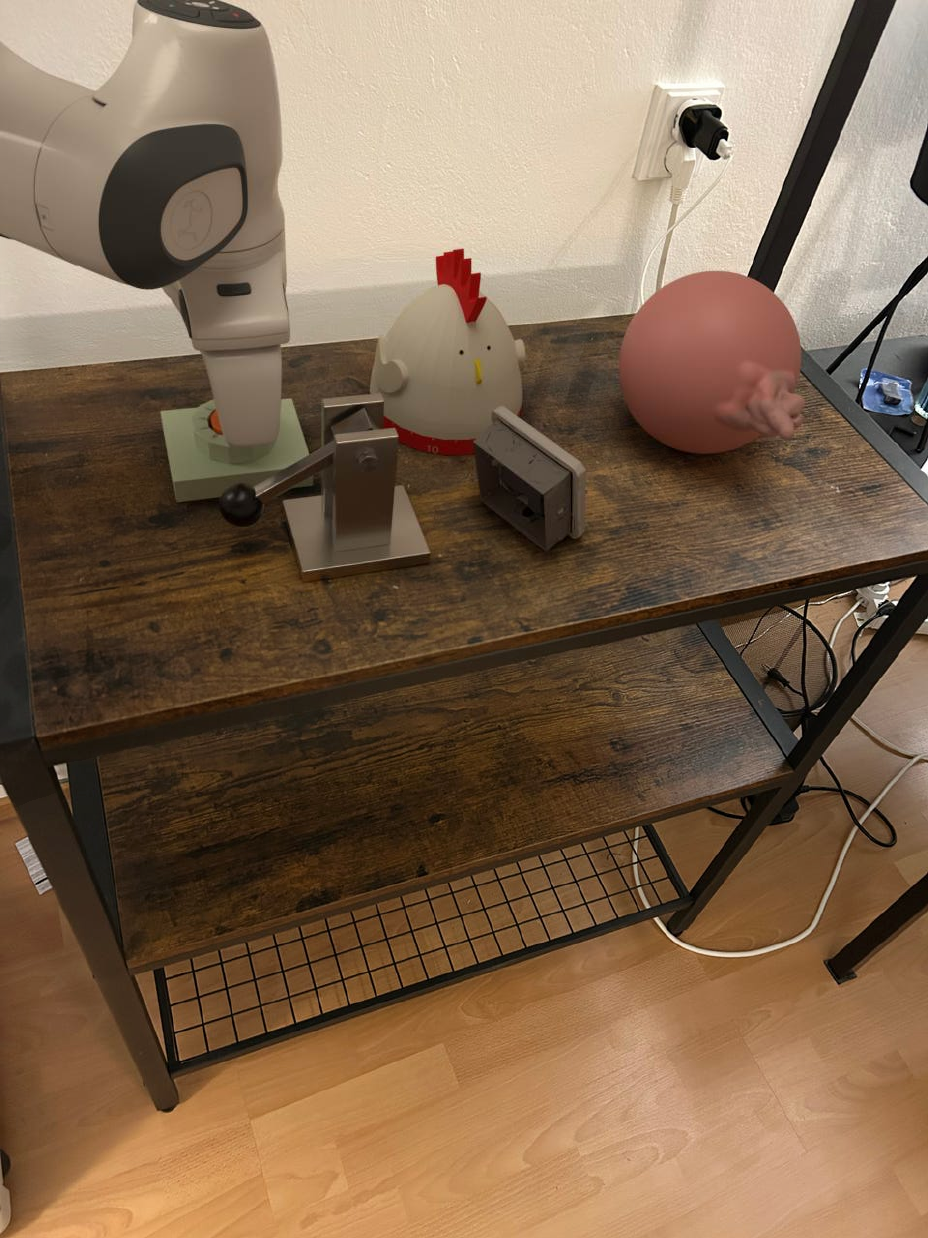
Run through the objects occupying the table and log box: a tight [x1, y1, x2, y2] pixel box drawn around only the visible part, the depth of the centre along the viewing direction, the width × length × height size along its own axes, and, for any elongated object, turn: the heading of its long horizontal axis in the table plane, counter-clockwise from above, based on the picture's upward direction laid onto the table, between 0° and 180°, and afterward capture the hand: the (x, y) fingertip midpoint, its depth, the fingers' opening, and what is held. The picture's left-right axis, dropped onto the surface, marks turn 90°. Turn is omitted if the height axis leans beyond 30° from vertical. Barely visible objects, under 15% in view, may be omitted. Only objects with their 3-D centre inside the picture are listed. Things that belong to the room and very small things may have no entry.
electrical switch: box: [473, 406, 587, 552], centre depth 77 cm, size 9×5×9 cm, turn 44°
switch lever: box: [218, 408, 379, 528], centre depth 70 cm, size 13×3×3 cm
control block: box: [160, 398, 314, 503], centre depth 80 cm, size 11×9×4 cm
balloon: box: [618, 270, 806, 455], centre depth 83 cm, size 15×20×15 cm
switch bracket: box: [282, 393, 432, 583], centre depth 72 cm, size 10×8×12 cm
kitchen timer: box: [369, 248, 526, 456], centre depth 83 cm, size 14×14×15 cm
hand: (236, 417), depth 78 cm, fingers closed, pressing on cancel button
